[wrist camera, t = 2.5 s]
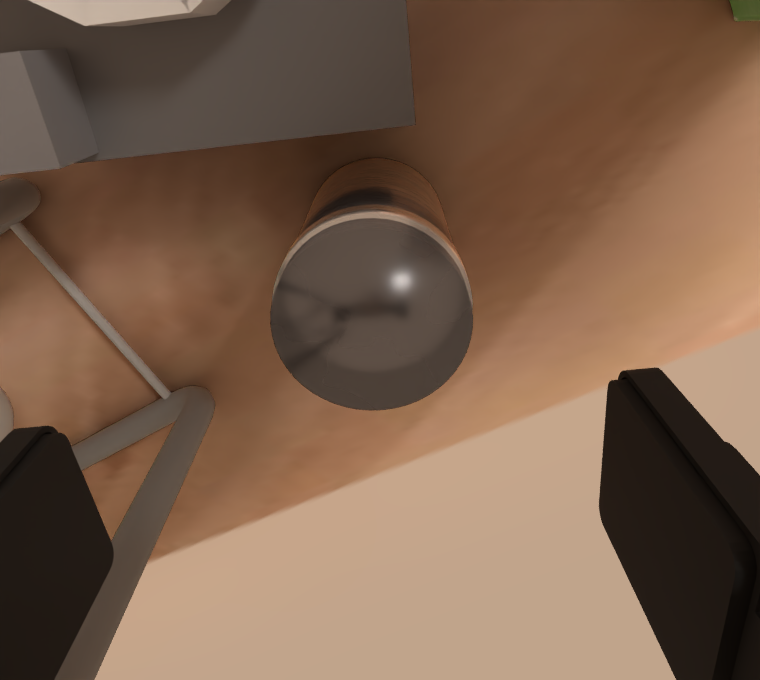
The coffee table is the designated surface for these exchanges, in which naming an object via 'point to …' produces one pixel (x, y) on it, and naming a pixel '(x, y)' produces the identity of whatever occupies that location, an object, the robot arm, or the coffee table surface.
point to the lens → (373, 291)
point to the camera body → (194, 75)
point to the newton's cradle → (162, 484)
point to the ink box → (746, 10)
